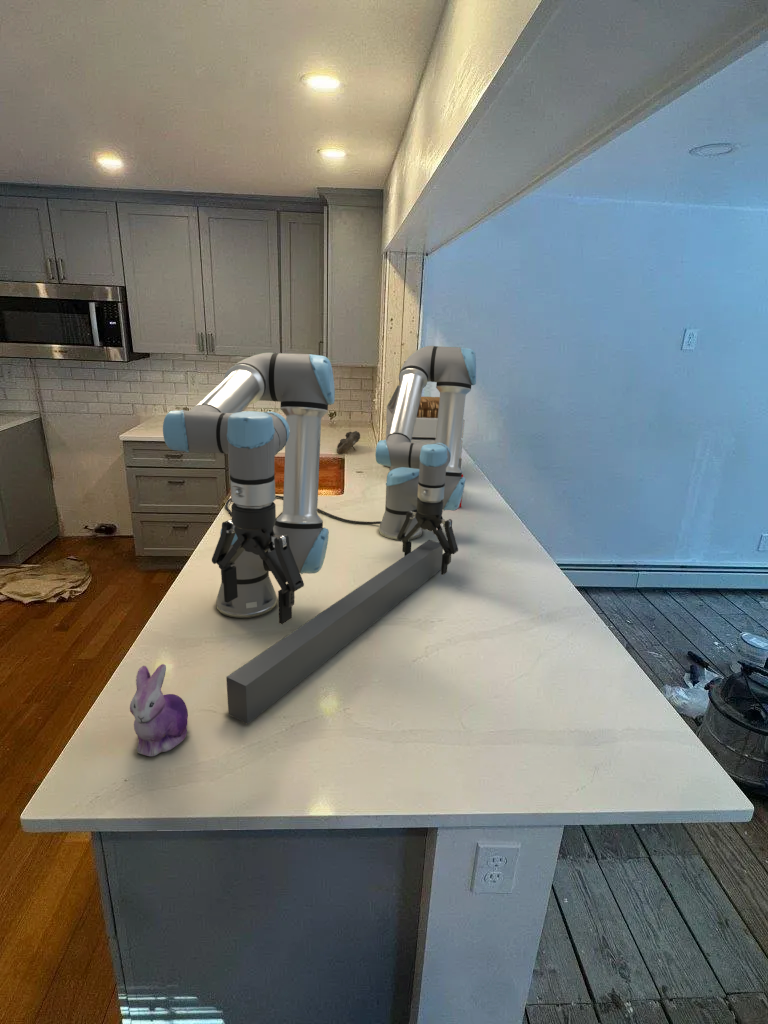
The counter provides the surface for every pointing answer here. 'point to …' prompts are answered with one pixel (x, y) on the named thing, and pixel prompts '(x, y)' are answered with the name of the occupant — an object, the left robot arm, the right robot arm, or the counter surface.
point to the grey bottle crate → (421, 421)
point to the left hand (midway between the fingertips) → (257, 609)
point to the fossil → (348, 442)
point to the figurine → (157, 714)
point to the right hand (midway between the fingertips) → (425, 567)
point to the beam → (326, 634)
